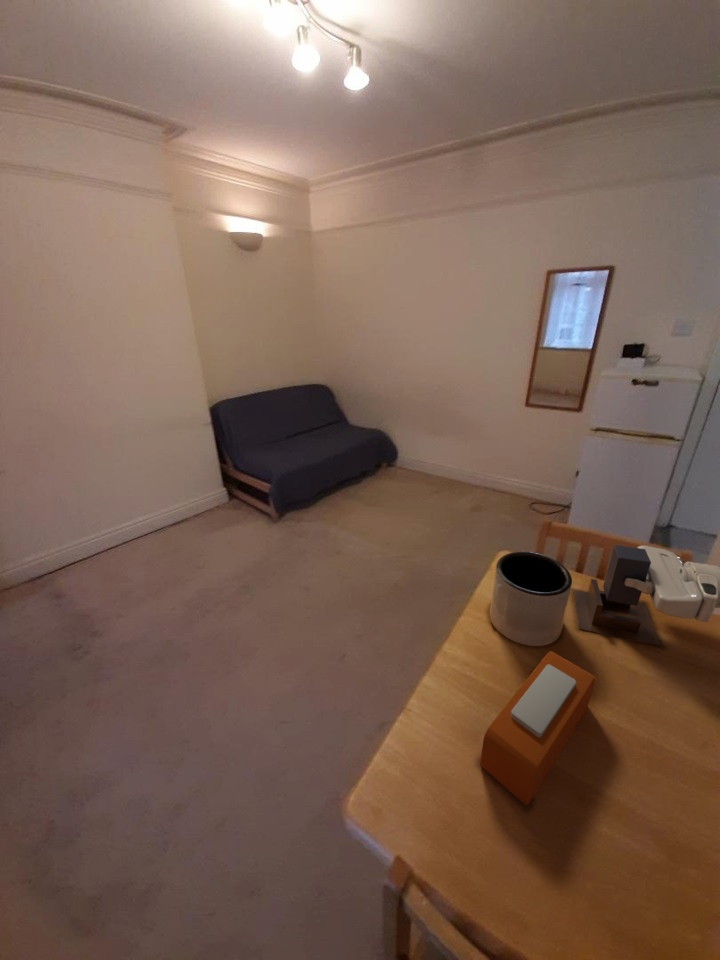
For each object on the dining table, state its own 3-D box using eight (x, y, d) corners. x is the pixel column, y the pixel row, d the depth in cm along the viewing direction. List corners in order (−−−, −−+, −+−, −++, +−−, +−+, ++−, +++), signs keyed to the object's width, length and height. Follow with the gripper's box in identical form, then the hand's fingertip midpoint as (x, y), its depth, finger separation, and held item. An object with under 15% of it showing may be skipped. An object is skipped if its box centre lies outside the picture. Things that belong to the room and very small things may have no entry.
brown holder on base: (643, 607, 100) (651, 583, 97) (659, 650, 88) (669, 625, 85) (572, 594, 105) (577, 570, 102) (578, 633, 93) (584, 608, 90)
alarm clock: (544, 682, 82) (553, 641, 78) (587, 710, 77) (599, 668, 72) (478, 769, 68) (484, 727, 63) (525, 811, 62) (535, 768, 58)
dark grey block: (632, 591, 94) (645, 549, 89) (637, 606, 90) (651, 562, 85) (603, 586, 96) (614, 544, 91) (606, 600, 92) (618, 557, 87)
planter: (477, 626, 97) (483, 574, 90) (506, 591, 107) (513, 542, 100) (546, 662, 87) (558, 607, 80) (570, 619, 97) (582, 568, 90)
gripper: (684, 544, 93) (616, 535, 98) (720, 603, 76) (635, 589, 81) (676, 566, 96) (610, 556, 101) (709, 628, 79) (628, 613, 83)
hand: (621, 571), depth 91 cm, fingers closed on dark grey block, 5 cm apart
